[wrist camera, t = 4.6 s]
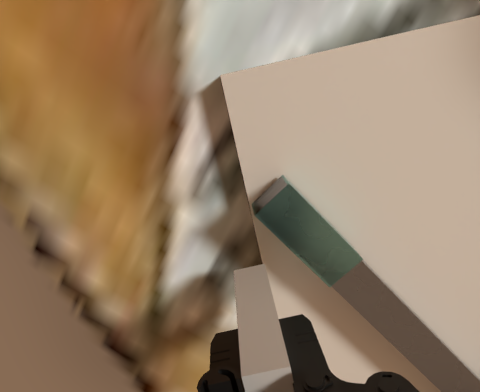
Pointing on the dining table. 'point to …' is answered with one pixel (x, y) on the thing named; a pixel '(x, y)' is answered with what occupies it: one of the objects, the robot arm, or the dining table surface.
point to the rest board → (374, 183)
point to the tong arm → (359, 285)
